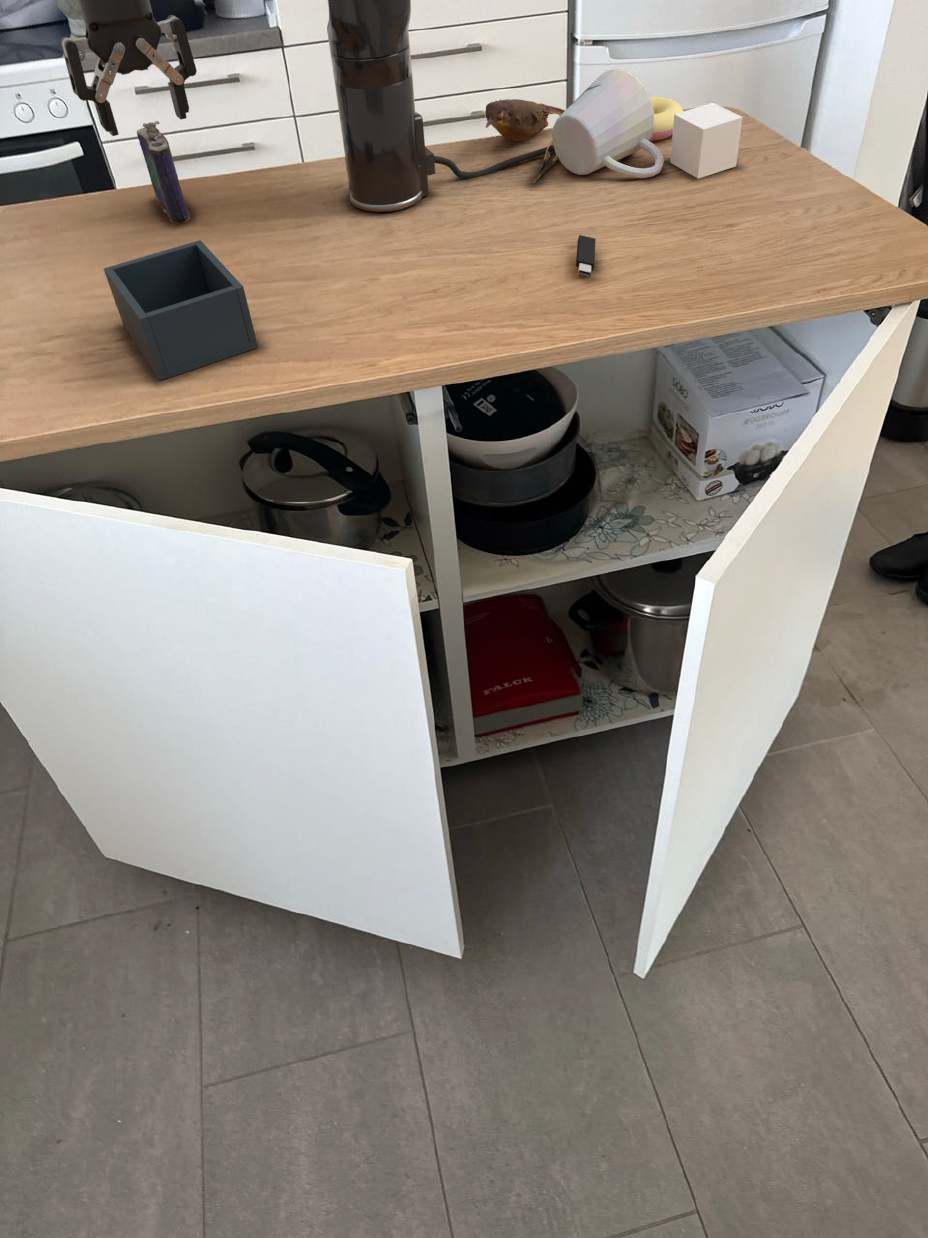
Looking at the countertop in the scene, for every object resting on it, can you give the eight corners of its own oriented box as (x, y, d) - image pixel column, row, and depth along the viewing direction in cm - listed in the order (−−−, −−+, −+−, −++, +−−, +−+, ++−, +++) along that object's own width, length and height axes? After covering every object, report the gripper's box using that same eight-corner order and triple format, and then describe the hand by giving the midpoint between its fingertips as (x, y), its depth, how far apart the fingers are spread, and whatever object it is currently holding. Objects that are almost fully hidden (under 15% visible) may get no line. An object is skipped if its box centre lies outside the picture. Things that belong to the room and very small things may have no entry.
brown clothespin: (540, 186, 121) (539, 175, 120) (521, 186, 122) (520, 175, 121) (570, 149, 128) (569, 138, 127) (552, 149, 129) (551, 138, 128)
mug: (534, 151, 125) (584, 116, 129) (614, 225, 124) (662, 188, 127) (554, 85, 115) (607, 49, 119) (641, 165, 114) (692, 126, 117)
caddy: (216, 298, 105) (200, 239, 100) (258, 347, 98) (243, 286, 93) (124, 327, 102) (103, 268, 97) (160, 380, 94) (139, 319, 89)
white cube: (674, 113, 119) (669, 162, 123) (703, 128, 115) (697, 178, 120) (713, 102, 121) (707, 150, 125) (743, 116, 117) (736, 166, 121)
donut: (689, 141, 133) (634, 118, 137) (700, 106, 130) (643, 84, 133) (654, 154, 127) (598, 130, 130) (665, 117, 124) (606, 94, 127)
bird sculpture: (579, 138, 141) (585, 100, 138) (504, 149, 122) (509, 105, 119) (539, 130, 143) (544, 93, 140) (459, 140, 124) (464, 97, 122)
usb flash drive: (577, 266, 103) (574, 275, 104) (594, 270, 103) (591, 279, 104) (579, 234, 108) (577, 242, 109) (595, 238, 108) (593, 246, 109)
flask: (154, 199, 125) (129, 113, 117) (176, 194, 125) (152, 107, 118) (172, 226, 119) (147, 136, 111) (195, 220, 120) (171, 131, 112)
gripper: (157, -51, 107) (193, 103, 119) (31, -29, 102) (81, 130, 114) (178, -39, 103) (214, 121, 114) (48, -15, 98) (99, 149, 110)
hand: (147, 125), depth 114 cm, fingers open, 8 cm apart
